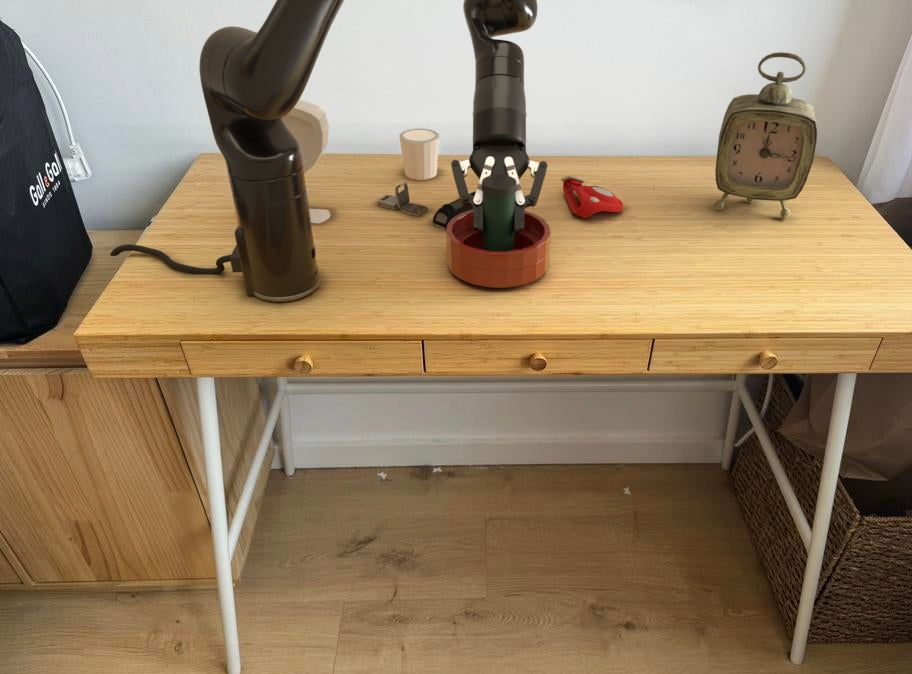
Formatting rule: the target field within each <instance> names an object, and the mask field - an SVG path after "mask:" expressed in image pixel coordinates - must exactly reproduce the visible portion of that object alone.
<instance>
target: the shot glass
mask: <svg viewBox="0 0 912 674" xmlns="http://www.w3.org/2000/svg"><path fill="white" fill-rule="evenodd" d="M439 134H440V133H438V131H436V130H433V129H430V128H423V127H421V128H410V129H406V130H404V131H401V132H400V134H399V143H400V150H401V156H402V161H403V169H404V175H405V176H406V177H407V178H408V179H410V180H417V181H426V180H431V179H433V178H435V177H436V176H437V174H438V161H439V160H438V159H439V145H440V135H439Z"/></svg>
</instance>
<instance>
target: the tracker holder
mask: <svg viewBox="0 0 912 674" xmlns="http://www.w3.org/2000/svg"><path fill="white" fill-rule="evenodd" d="M560 181H561V182H562V191H563V194H564V197H565V200H566V201H567V204H568V206H569V209H570V211H571V213H572V214H575V215H577V216H579V217H581V218H582V219H587V218H589V217H590V216H592V215H593V214H597V213H601V212H608V213H621V212H623V209H624V203H623V201H621V199H620V198H618V197H617V196H616V195H615V194H614V193H613V192H612V191H611V190H609V189H606V188H604V187H601V186H597V185H583V184H584V183H585V182H586V180H585V179H582V178H580V177H577V176H574V175H568V176H565V177H561V179H560ZM575 194H576V195H575ZM576 196H577V197H576ZM578 199H579V200H578ZM579 202H580V203H579Z"/></svg>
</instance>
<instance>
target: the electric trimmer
mask: <svg viewBox="0 0 912 674" xmlns="http://www.w3.org/2000/svg"><path fill="white" fill-rule="evenodd" d="M475 193H476V190H475V191H473V192H471V193H469V194H471V195H473V196H475ZM469 210H473V208H472V207H470V206H464V205H462V203H461V200H460V198H457V199H456V200H453V201H451V202H449V203H444V204H442V206H441V207H439V208H438V209H437V210H436V211H435V213H434V215H433V218H432V223H433V225H434V226H436V227H439V228H440V229H443V230H447V224H448V223H449V222H450V221H451V220H452V218H454V217H456V216H457V215H459V214H461V213H463V212H466V211H469Z"/></svg>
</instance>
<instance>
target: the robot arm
mask: <svg viewBox="0 0 912 674" xmlns="http://www.w3.org/2000/svg"><path fill="white" fill-rule="evenodd" d="M344 2H345V0H275V3H274V4H273V6H272V8H271V10H270V12H269V13H268V15H267V16H266V19H265V20H264V22H263V24H262V25H261V26H260V28H259V30H258V31H254V30H251V29H249V28H244V27H240V26H231V25H230V26H224V27H222V28H219V29H217V30H215V31H214V32H212V34H210V35H209V36H208V37H207V39H206V40H205V41H204V44H203V45H202V48H201V50H200V51H201V52H200V56H199V65H198V66H199V80H200V85H201V90H202V94H203V99H204V103H205V106H206V110H207V115H208V118H209V123H210V128H211V131H212V135H213V138H214V141H215V143H216V146H217V148H218V150H219V152H220V153H221V155H222V156H223V159H224V162H225V166H226V170H227V175H228V181H229V184H230V190H231V195H232V200H233V201H232V202H233V205H234V211H235V215H236V220H237V221H236V222H237V226H236V227H235V230H234V238H235V243H236V245H235V246H234V249H233V251H232V252H231V254H226V255H222V256H220V257H218V258H217V259H216V261H215V266H216V267H211V268H204V267H203V268H202V267H197V266H191V265H189V264H184V263H179V262H177V261H175V260H173V259H172V258H171V257H170V256H169V255H168V254H166V252H163V251H162V250H160V249H156V248H152V247H148V246H144V245H138V244H131V243H130V244H127V243H126V244H122V245H119V246H117V247H115V248H114V249H113V250H112V251H111V252H110V254H109V256H111V257H117V256H119V255H120V254H121V253H123V252H137V253H142V254H147V255H150V256H153V257H157V258H159V259H161V260H163V262H164V263H166V264H167V266H169V267H170V268H172V269H174V270H177V271H182V272H185V273H191V274H194V275H220V274H222V273H224V272H225V269H226V268H225V265H224V264H225V263H230V266H231V272H232V273H242V277H243V282H244V287H245V292H246V296H251V297H253V296H254V297H256V298H257V299H260V300H262V301H267V302H273V303H274V302H275V303H283V302H284V303H286V302H291V301H296V300H300V299H303V298H306V297H308V296H309V295H311V294H312V293H314V292H315V291H316V290H317V289H318V288H319V286H320V283H321V279H320V274H319V269H318V263H317V246H316V245H317V244H315V240H314V233H313V227H312V223H311V219H310V212H309V209H310V207H309V205H310V204H309V197H308V193H307V192H308V191H307V185H306V177H305V174H304V169H303V161H302V154H301V149H300V145H299V143H298V141H297V140H296V138H295V137H294V136H293V135H292V134H291V132H290V131H289V130H288V128H287V127H286V125H285V124H284V122H283V120H282V118H283V117H284V116H286V115H287V114H288V113H289V112H290V111H291V110H292V109H293V108H294V107H295V105H296V104H297V102H298V101H299V100H301V97H302V96H303V93H304V91H305V89H306V87H307V85H308V83H309V80H310V77H311V75H312V73H313V71H314V67H315V66H316V64H317V60H318V58H319V55H320V53H321V52H322V51H321V50H322V48H323V46H324V44H325V41H326V39H327V37H328V34H329V32H330V29H331V28H332V25H333V23H334V21H335V20H336V17H337V15H338V13H339V11H340V9H341V8H342V6H343V4H344ZM462 5H463V7H462V9H463V10H462V11H463V16H464V19H465V23H466V27H467V30H468V33H469V36H470V40H471V44H472V49H473V54H474V74H475V75H474V93H473V99H472V100H473V101H472V152H471V154H470V156H469V158H468V159H464V160H460V161H459V160H458V159H453V160H452V161H451V163H450V165H451V173H452V177H453V180H454V183H455V186H456V190H457V193H458V196H459V199H460V200H461V203H462V205H464V206H470V207H472V208H473V228H474V230H475V231H478V235H483V191H482V180H483V179H484V178H485V177H487V176H491V175H507V176H510V177H513V178H514V179H515V180H516V182H517V184H516V192H515V213H514V236H519V232H523V230H524V210H525V211H526V209H528V208H530V207H532V208H534V207H536V206H537V204H538V201H539V198H540V194H541V191H542V187H543V184H544V181H545V178H546V174H547V171H548V163H547V162H546V161H544V160H542V161H540V162H537V161H536V160H535V161H534V160H531V159H530V156H529V155H528V153H527V98H526V92H525V91H526V90H525V54H524V50H523V49H522V48H521V46H520V45H519V44H518V43H516V42H513V41H511V40H506V39H496V38H495V37H500V36H506V35H513V34H517V33H523V32H525V31H528V30H530V29H531V28H532V27H533V26H534V25H535V23H536V20H537V17H538V10H539V9H538V8H539V7H538V0H463V4H462ZM469 169H470V170H472V171H473V173H474V175H475V176H476V177H477V178H478V179H479V180H478V183H477V187H476V190H475V191H476V193H475V196H473V195H471V194H470V193H469V190H468V186H467V183H466V178H467V177H468V175H469V173H468V171H469ZM527 170H529V171H530V177H531V178H532V179H533V183H532V186H531V189H530V192H529V194H527V195H524V193H523V189H522V184H521V182H520V179H521V178H522V177H523V175H524V174H525V173H526V171H527Z"/></svg>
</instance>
